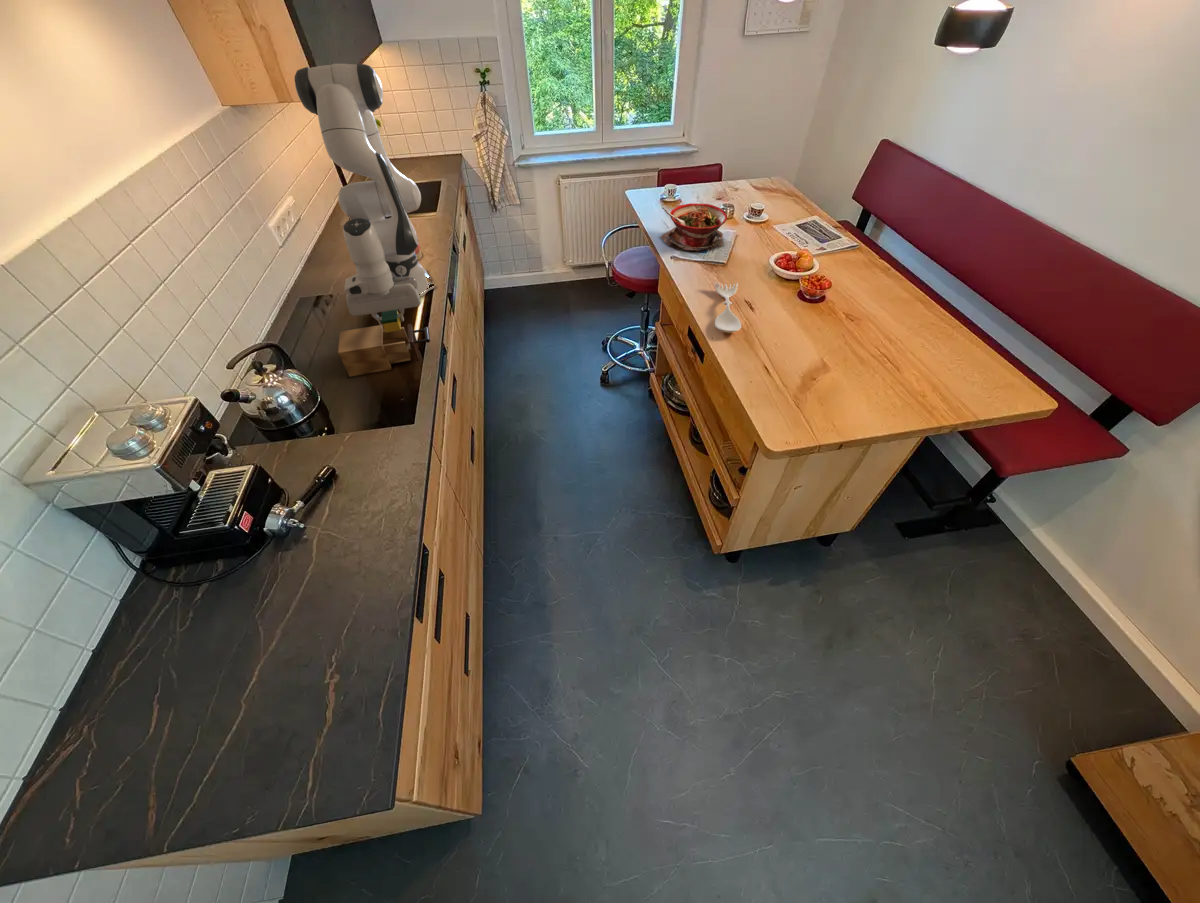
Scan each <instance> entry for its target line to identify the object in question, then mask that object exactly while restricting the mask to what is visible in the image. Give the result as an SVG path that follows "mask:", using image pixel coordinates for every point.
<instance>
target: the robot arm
mask: <svg viewBox="0 0 1200 903" xmlns="http://www.w3.org/2000/svg"><path fill="white" fill-rule="evenodd" d="M294 87H295V93H296V95H297V97H298V99H299V101H300V102H301V104H302V106H303V107H304V109H306V110H307V111H308V112H310V113H311V114H314V115H316V116H317V118H318V124H319V129H320V133H321V137H322V140H323V144H324V147H325V150H326V153H327V155H328V157H329V158H330V159H331V161H332V162H333V163H335V164H336V165H337V166H338V167H339V168H341V169H343V170H345V171H347V172H350V173H353V174H356V175H359V176H362V177H367V178H368V179H371V180H365V181H358V182H351V183H349V184H346V185H344V186H341V187H340V188H339V191H338V193H337V202H338V205H339V207H340V209H341V211H342V212H343V213H344V215H345V216H346V217H348V218H349V220H347V221H346V222H345V223H344V224H343V227H342V233H343V237H344V242H345V246H346V247H347V248H346V249H347V253H348V254H349V257H350V260H351V261H352V263H353V265H354V266H355V271H356V272H355V274H353V275H351V276H349V277H347V278H346V279H345V281H344V291H345V293H346V297H345V301H346V306H347V308H348V312H349V314H350V315H351V316H353V317H358V316H366V315H371V317H372V318H374V320H376V321H377V322H378V325H382V326H383V324H382V316H379V314H380V313H382V312H385V311H392V310H397V311H398V320H399V322H400V323H401V322H402V323H403V322H405V317H404V314H405V310H406V309H410V308H416V307H417V308H418V307H420V305H421V303H422V301H421V297H423V296H424V295H426V294H427V293H428V292H429V291H431V290H433V289H434V288H435V285H434V286H432V287H430V288H429V285H430V284H432V283H428V282H427V278H429V277H430V276H429V273H428V271H427V270H426V269H425V268H424V267H423V266H422V264H421V263H420V261H419V260H417V256H416V254H415V252H414V251H415V249H416V248H417V246H418V243H419V238H418V233H417V231H416V229H415V227H414V225H413V223H412V221H411V219H410V217H409V215H408V214H409V213H412V212H414V211H417V210H418V209H419V208H420V206H421V202H422V194H421V191H420V189H419V187H418V185H417V184H416V183H415V182H414V181H413V180H412V179H411V178H409V177H408V176H406V175H404V174H402V172H400V171H399V170H398V169H397V168H396V167H395V166H394V164H393V163H392V161H391V160H390V158H389V157H388V154H387V152H386V149H385V146H384V143H383V140H382V137H381V135H380V131H379V128H378V123H377V121H376V119H375V115H374V114H373V113H374V112H376V110H378V109H380V108H381V106H382V105H383V103H384V88H383V85H382V82H381V79H380V78H379V76H378V74H377V72H376V71H375V69H374V68H373V67H372V66H371V65H368V64H364V63H357V64H353V63H332V64H325V65H318V66H313V67H309V66H306V67H305V66H304V67H302V68H299V69H297V70H296V73H295V74H294ZM387 217H389V218H387ZM426 277H427V278H426ZM428 284H429V285H428ZM427 288H428V289H427ZM426 289H427V290H426ZM425 290H426V291H425ZM424 291H425V292H424ZM422 292H423V293H422ZM421 293H422V294H421ZM419 294H420V295H419ZM378 313H379V314H378Z"/></svg>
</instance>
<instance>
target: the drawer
mask: <svg viewBox="0 0 1200 903" xmlns="http://www.w3.org/2000/svg"><path fill="white" fill-rule="evenodd" d="M422 332H423V333H424V339H417V335H416V333H422ZM407 334H408V335H407ZM430 336H431V335H430V328H429V327H428V326H424V328H421V329H414V327H413V324H412V323H409V324H407V333H406V330H405V327H404V326H401V330H399V331H393V332H385V329H384V330H383V348H384V351H385V353H386V356H387V358H388V361H389V364H391V365H392V364H398V363H403V362H408V361H409V362H410V361H411V358H412V357H413V359H414V362H416V363H417V362H419V361H420V354H419V344H420V343H427V344H429V343H430V342H431V337H430ZM411 354H412V357H411Z"/></svg>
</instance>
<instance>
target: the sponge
mask: <svg viewBox="0 0 1200 903" xmlns="http://www.w3.org/2000/svg"><path fill="white" fill-rule="evenodd" d="M398 314H399V310H392V311H385V312H381V317H382V324H383V325H382V326H383V329H384V330H385V332H393V331H399V330H401V327H402V326H401V322H399V320H398Z"/></svg>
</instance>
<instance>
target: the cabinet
mask: <svg viewBox="0 0 1200 903" xmlns="http://www.w3.org/2000/svg"><path fill="white" fill-rule="evenodd" d="M383 330H385V329H384V326H383V325H379V324H378V325H372V326H367V327H359V328H354V329H348V330H341V331H340V332H339V340H338V348H337V354H338V356H339V359H340V360H341V362H342V364H343V366H344V368H345V370H346V373H347V375H348V377H349V378H351V377H356V376H362V375H366V374H367V375H368V374H373V373H378V372H385V371H390V370H392V364H389V361H388V358H387V356H386V353H385V351H384V348H383Z"/></svg>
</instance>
